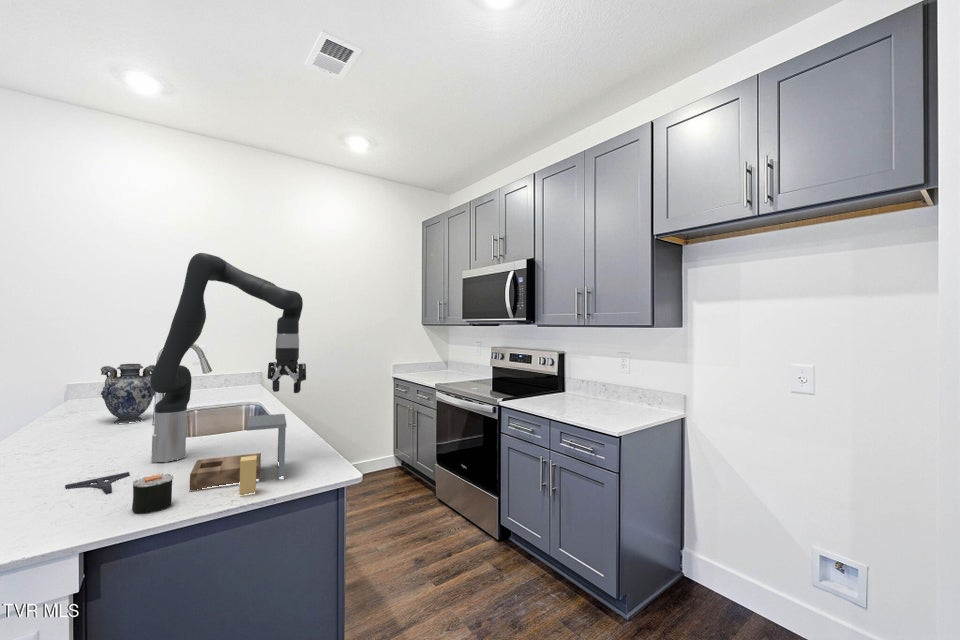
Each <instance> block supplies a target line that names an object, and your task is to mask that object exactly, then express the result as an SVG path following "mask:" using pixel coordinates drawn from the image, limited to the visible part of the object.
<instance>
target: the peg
mask: <svg viewBox="0 0 960 640" xmlns="http://www.w3.org/2000/svg"><path fill="white" fill-rule="evenodd" d="M256 462H257V455H256V456H247V457H241V460H240V485H239V494H238V496H239V495H244V494H249V493H254V492H255V491H256V490H257V488H256V486H257V485H256V484H257V482H256ZM255 493H256V492H255Z"/></svg>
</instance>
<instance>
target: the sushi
mask: <svg viewBox="0 0 960 640" xmlns="http://www.w3.org/2000/svg"><path fill="white" fill-rule="evenodd" d="M173 480H174V475H172V474H171V473H161V474H160V473H156V474H152V475H150V476H144V477H141V478H138V479H135V480H132V507H131V511H132V513H134V514H137V515H143V514H144V515H145V514H148V513H149V514H150V513H154V512H159V511H163V510H166V509H167V508H168V509H169V508H170V507H171V506H172V496H173V495H172V494H173V493H172V492H173Z"/></svg>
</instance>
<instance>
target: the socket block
mask: <svg viewBox="0 0 960 640" xmlns="http://www.w3.org/2000/svg"><path fill="white" fill-rule="evenodd" d="M256 455H257V462H256V479H260V480H261V462H262V460H261V459H262V453H261V452H258V453H250V454H241V455H230V456H221V457H213V458H212V457H211V458H202V459H197V460H196V462H194V463H195V464H194V466H193V467H192V469H191V471H190V474H189V491H190V490H196V491H198V490H197V489H202V488H207V487H212V486H219V485H226V484H233V483H239V482H240V460H241V457H247V456H256Z"/></svg>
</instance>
